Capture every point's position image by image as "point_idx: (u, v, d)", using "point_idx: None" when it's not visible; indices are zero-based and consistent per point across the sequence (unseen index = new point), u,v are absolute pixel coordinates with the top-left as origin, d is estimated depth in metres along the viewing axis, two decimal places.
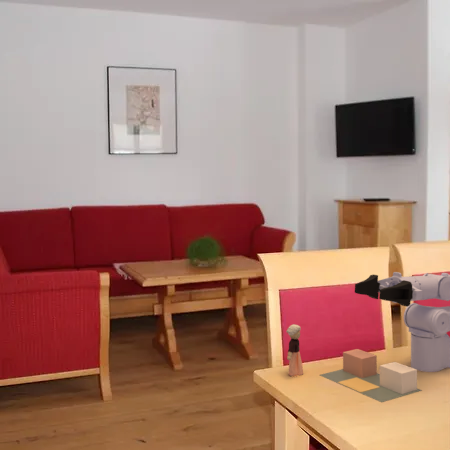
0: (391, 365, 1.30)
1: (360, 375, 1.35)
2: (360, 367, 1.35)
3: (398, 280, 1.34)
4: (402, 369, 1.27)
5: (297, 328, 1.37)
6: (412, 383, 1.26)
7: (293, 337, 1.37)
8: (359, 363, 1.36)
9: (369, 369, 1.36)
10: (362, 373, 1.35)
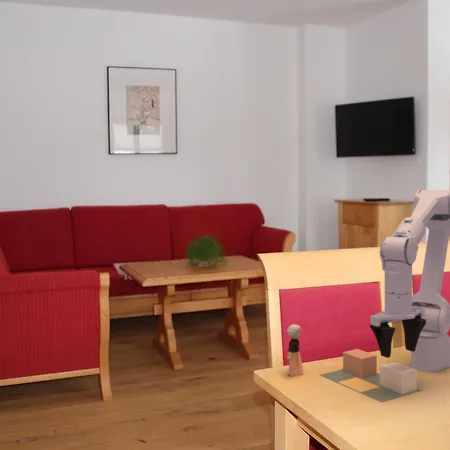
0: (391, 365, 1.30)
1: (360, 375, 1.35)
2: (360, 367, 1.35)
3: None
4: (402, 369, 1.27)
5: (297, 328, 1.37)
6: (412, 383, 1.26)
7: (293, 337, 1.37)
8: (359, 363, 1.36)
9: (369, 369, 1.36)
10: (362, 373, 1.35)
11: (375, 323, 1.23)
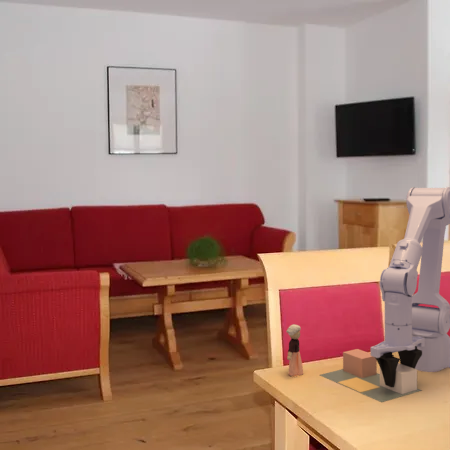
0: None
1: (360, 375, 1.35)
2: (360, 367, 1.35)
3: None
4: (402, 369, 1.27)
5: (297, 328, 1.37)
6: (412, 383, 1.26)
7: (293, 337, 1.37)
8: (359, 363, 1.36)
9: (369, 369, 1.36)
10: (362, 373, 1.35)
11: (375, 355, 1.24)
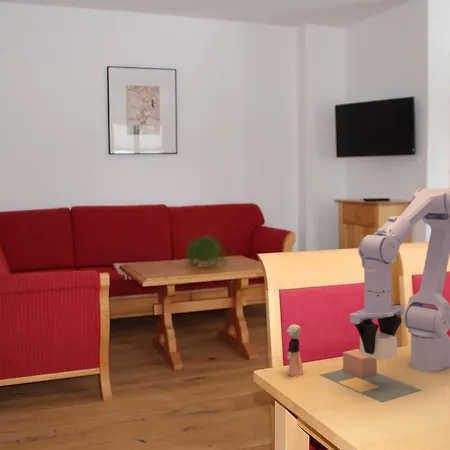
0: None
1: (360, 375, 1.35)
2: (360, 367, 1.35)
3: None
4: (382, 336, 1.27)
5: (297, 328, 1.37)
6: (392, 350, 1.27)
7: (293, 337, 1.37)
8: (359, 363, 1.36)
9: (369, 369, 1.36)
10: (362, 373, 1.35)
11: (354, 321, 1.24)
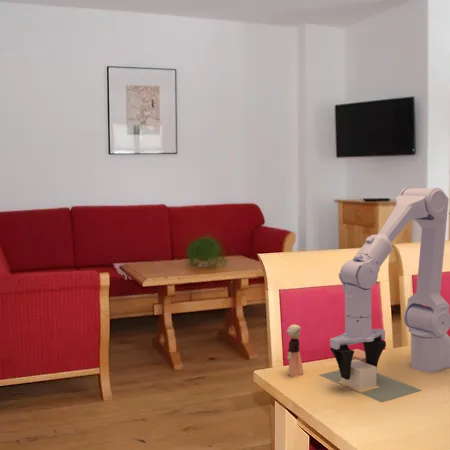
0: (352, 362, 1.32)
1: None
2: None
3: None
4: (362, 366, 1.29)
5: (297, 328, 1.37)
6: (371, 380, 1.28)
7: (293, 337, 1.37)
8: None
9: None
10: None
11: (334, 346, 1.26)
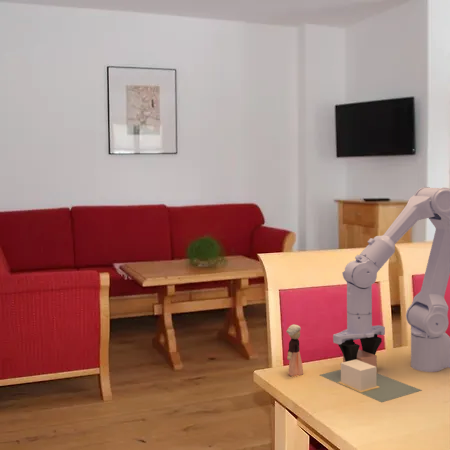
0: (352, 362, 1.32)
1: None
2: None
3: None
4: (362, 366, 1.29)
5: (297, 328, 1.37)
6: (371, 380, 1.28)
7: (293, 337, 1.37)
8: None
9: None
10: None
11: (337, 341, 1.34)
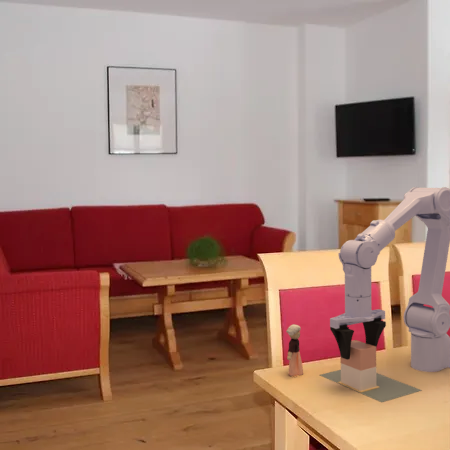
0: None
1: (359, 367, 1.27)
2: (358, 359, 1.27)
3: None
4: None
5: (297, 328, 1.37)
6: (371, 380, 1.28)
7: (293, 337, 1.37)
8: (357, 355, 1.27)
9: (368, 361, 1.28)
10: (361, 366, 1.27)
11: (334, 325, 1.25)
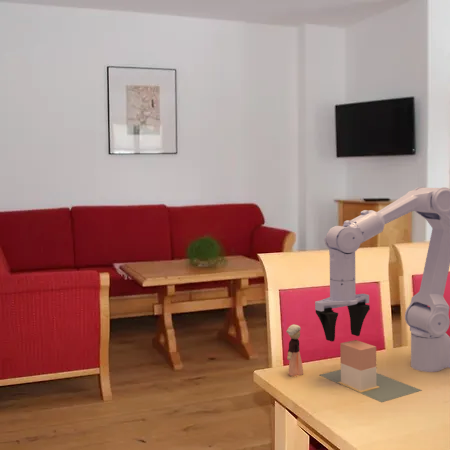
0: None
1: (359, 367, 1.27)
2: (358, 359, 1.27)
3: None
4: None
5: (297, 328, 1.37)
6: (371, 380, 1.28)
7: (293, 337, 1.37)
8: (357, 355, 1.27)
9: (368, 361, 1.28)
10: (361, 366, 1.27)
11: (319, 308, 1.30)
